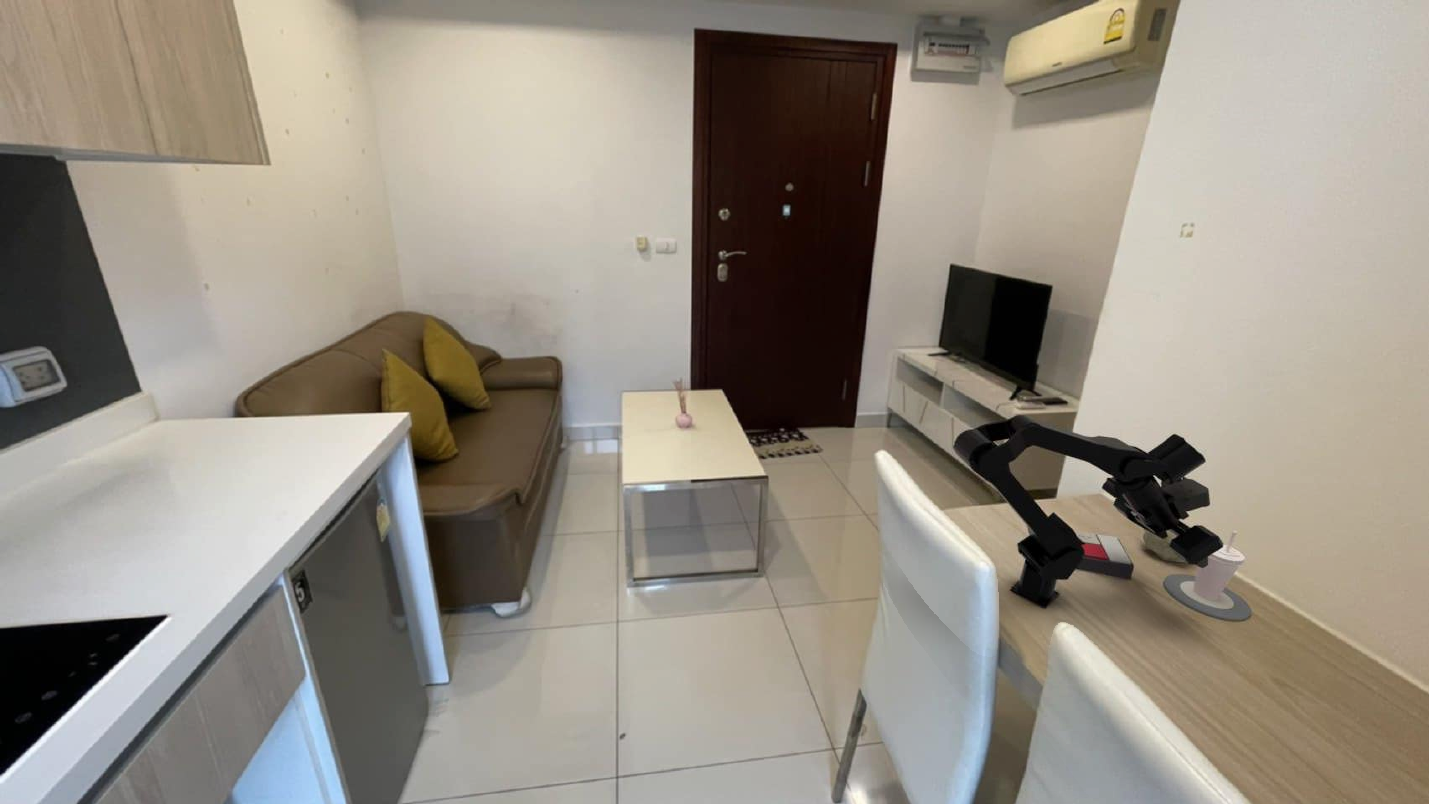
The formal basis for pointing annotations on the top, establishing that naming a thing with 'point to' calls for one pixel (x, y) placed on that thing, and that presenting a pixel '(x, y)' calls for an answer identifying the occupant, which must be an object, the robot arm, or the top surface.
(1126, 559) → the calculator
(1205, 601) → the coaster
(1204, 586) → the smoothie
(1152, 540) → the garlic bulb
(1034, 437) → the robot arm
